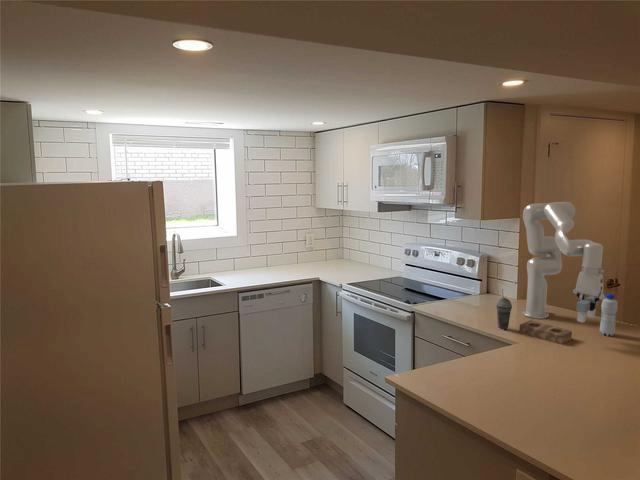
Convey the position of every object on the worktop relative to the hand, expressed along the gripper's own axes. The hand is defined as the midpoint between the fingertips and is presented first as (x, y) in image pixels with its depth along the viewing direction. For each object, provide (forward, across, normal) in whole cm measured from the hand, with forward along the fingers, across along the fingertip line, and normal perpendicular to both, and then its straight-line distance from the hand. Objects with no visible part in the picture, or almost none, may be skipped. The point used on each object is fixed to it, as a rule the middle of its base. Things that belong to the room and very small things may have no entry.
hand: (587, 308), depth 216 cm
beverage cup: (+16, +32, +14) cm, 39 cm away
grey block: (+5, 0, 0) cm, 5 cm away
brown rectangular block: (+15, +14, +8) cm, 22 cm away
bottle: (+15, -4, -16) cm, 22 cm away
